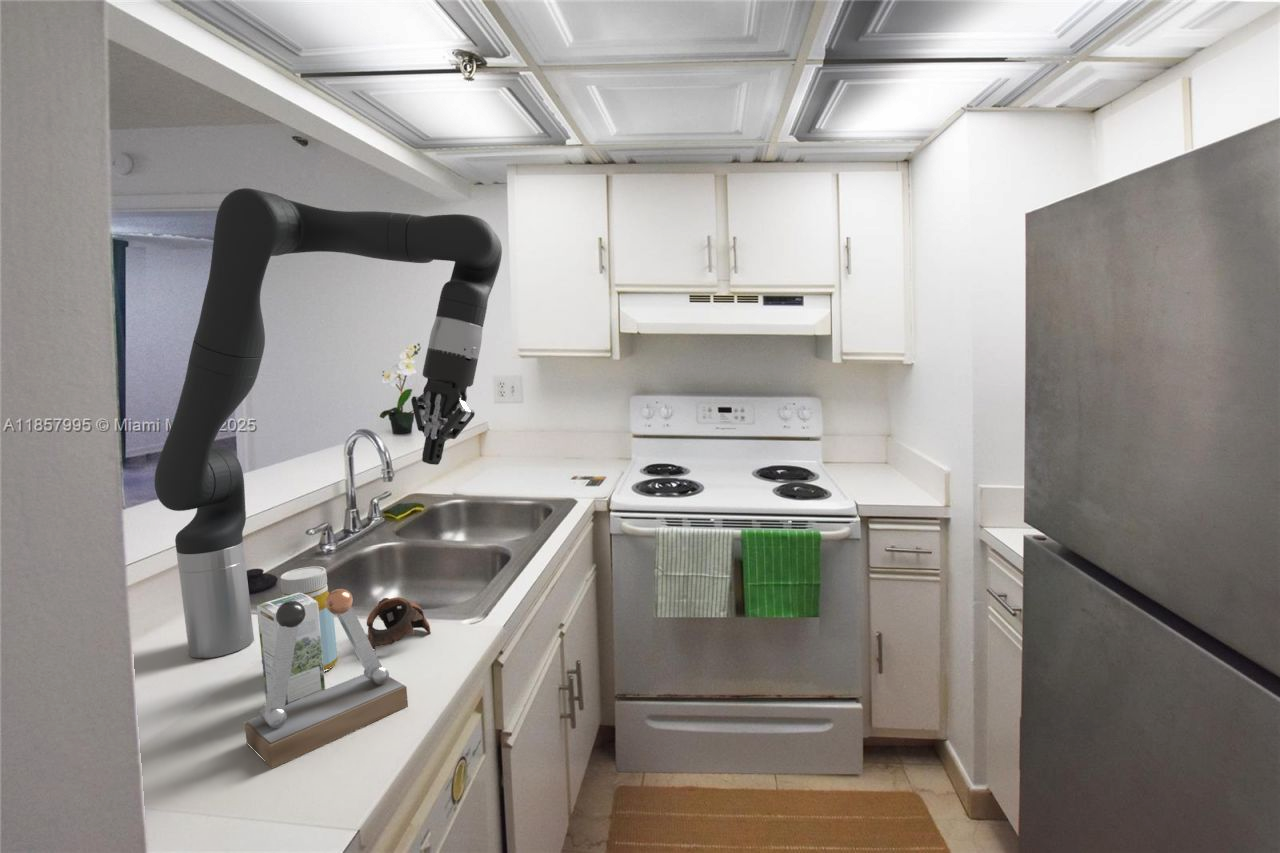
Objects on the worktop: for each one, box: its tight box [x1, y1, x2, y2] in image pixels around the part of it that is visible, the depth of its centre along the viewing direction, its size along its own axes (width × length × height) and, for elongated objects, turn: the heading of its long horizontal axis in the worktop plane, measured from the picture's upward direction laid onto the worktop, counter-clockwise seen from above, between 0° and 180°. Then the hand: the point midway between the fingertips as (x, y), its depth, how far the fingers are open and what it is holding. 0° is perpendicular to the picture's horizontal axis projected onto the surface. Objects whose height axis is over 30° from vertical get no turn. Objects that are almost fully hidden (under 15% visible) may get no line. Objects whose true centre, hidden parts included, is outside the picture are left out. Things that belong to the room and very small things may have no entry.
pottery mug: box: [366, 596, 432, 650], centre depth 111 cm, size 12×10×8 cm
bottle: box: [280, 566, 338, 670], centre depth 101 cm, size 7×7×15 cm
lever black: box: [259, 601, 305, 728], centre depth 81 cm, size 3×3×15 cm
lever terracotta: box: [326, 588, 390, 685], centre depth 88 cm, size 3×3×15 cm
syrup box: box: [256, 593, 326, 705], centre depth 91 cm, size 6×6×14 cm
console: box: [244, 673, 409, 769], centre depth 85 cm, size 8×17×3 cm, turn 139°
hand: (430, 463), depth 101 cm, fingers closed
